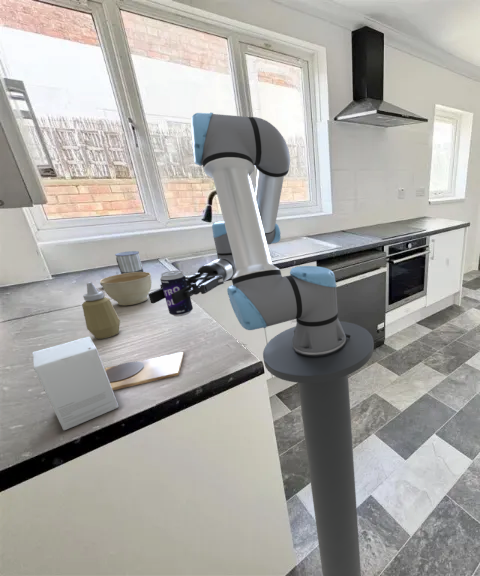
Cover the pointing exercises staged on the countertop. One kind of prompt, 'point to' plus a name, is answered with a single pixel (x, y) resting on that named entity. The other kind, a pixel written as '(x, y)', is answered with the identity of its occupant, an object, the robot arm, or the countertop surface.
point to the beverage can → (170, 285)
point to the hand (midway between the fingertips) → (162, 298)
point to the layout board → (144, 370)
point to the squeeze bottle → (99, 313)
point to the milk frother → (129, 262)
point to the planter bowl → (128, 287)
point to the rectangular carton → (74, 381)
